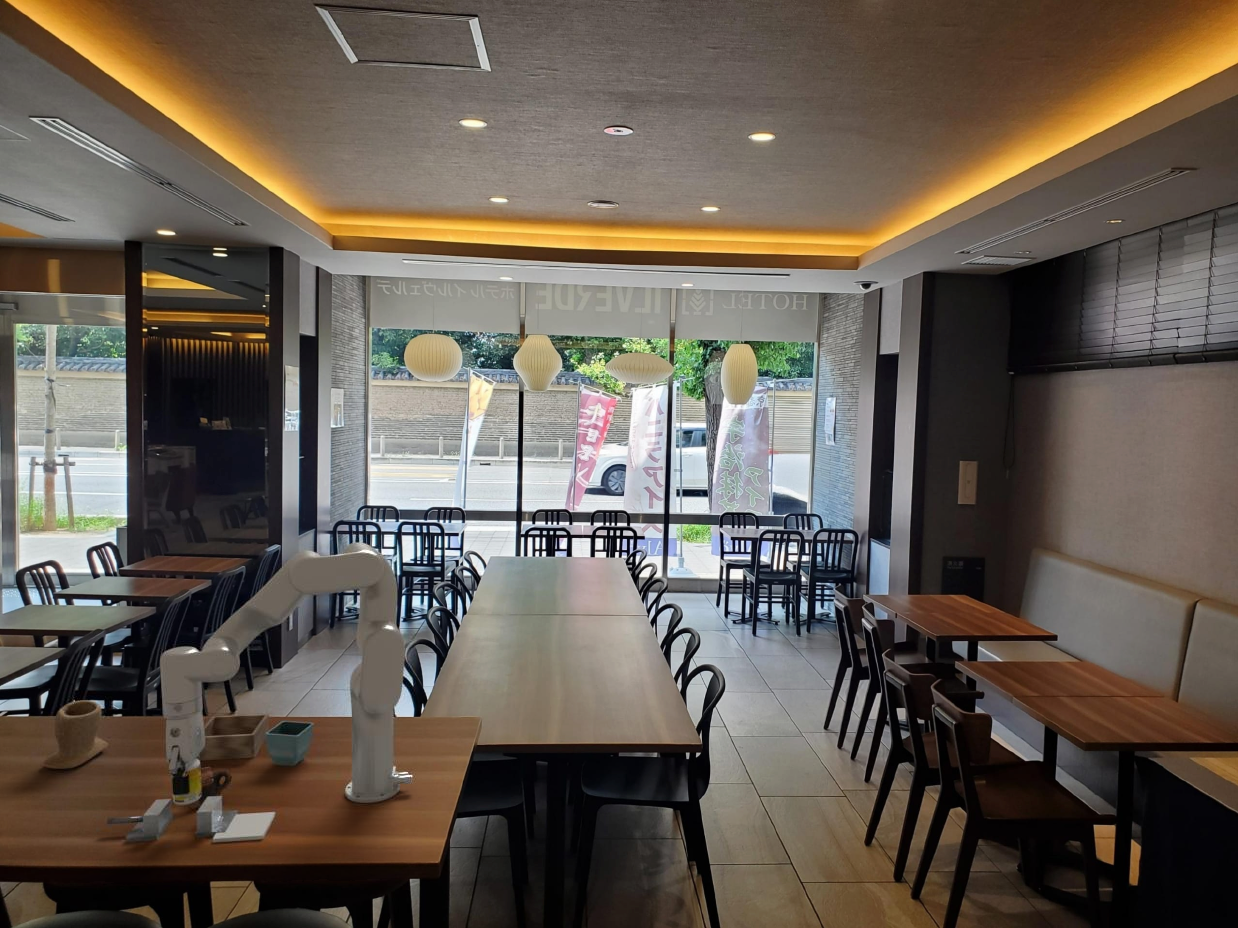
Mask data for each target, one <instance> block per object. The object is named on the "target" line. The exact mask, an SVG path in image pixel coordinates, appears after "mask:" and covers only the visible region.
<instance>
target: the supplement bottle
mask: <svg viewBox="0 0 1238 928" xmlns="http://www.w3.org/2000/svg"><path fill="white" fill-rule="evenodd" d="M179 761H183V759H179ZM179 761H178V762H179ZM178 767H179V768H181V769H182V770H183V765H178ZM201 768H202V767H201V760H198V759H196V758H195V759H194V760H193V761H192V762H191V763H188V768H187V775H189V785H190V792H189V793H188V794H183V795H173V789H172V788H171V789H172V791H171V793H172V795H171V796H172V802H173V804H175V805H177V806H178V805H179V806H185V805H190V803H193V802H195V801H197V800H198V799H199V798H200V797H201V795H202V790H201Z"/></svg>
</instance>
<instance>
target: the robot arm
mask: <svg viewBox="0 0 1238 928" xmlns="http://www.w3.org/2000/svg"><path fill="white" fill-rule="evenodd" d="M354 590H355V591H356V590H359V612H358V623H357V631H356V632H357V633H356V644H357V647H358V649H359V651H360V653H361V662H359V664H357V665H356V666H355V668H354V669H353V671H352V672H351V675H350V679H349V691H350V703H351V707H350V709H351V781H350V782H349V783H348V784H347V785H346V787H345V789H344V794H345V797H346V798H347V799H348V800H350V801H352V802H355V803H362V804H368V803H377V802H381V801H385V800H388V799H390V798H392V797H393V796H396V795H397V793H399V792H400V789H401V785H402V784H403V785H410V784H413V774H409V772H408V771H403V772H399V771H397V766H395V765H394V726H395V725H394V719H395V718H394V716H395V715H394V709H395V707H396V706H397V704H398V703H399V700H400V698H401V695H402V690H403V683H404V682H403V681H404V671H405V670H404V669H405V661H406V660H405V659H406V658H405V657H406V656H405V655H406V646H405V645H406V644H405V639H404V636H403V634H402V633H401V631H400V629H399V628H398V626H397V614H398V613H397V612H398V585H397V579H396V575H395V572H394V569H393V568H392V566H391V564H390V563H389V561H388V560H387V558H386V557H385V556H384V555H383V554H382V553H381V552H380V551H378V550H377V549H376V548H374V547H373V546H371V545H369V544H368V543H364V542H359V541H358V542H352V543H350V544H348V545H346V546H345V547H344V548H343V549H342V551H341V553H340V554H334V555H333V554H332V555H320V554H319V553H317V552H315V551H313V550H308V549H307V550H302V551H299V552H297V553H295V554H294V555H293V556H291V558H289V560H288V561H286V562H285V563H284V565H282V566H281V568H280V569H279V570H278V571H277V572H276V573H275V574H274V575H273V576H272V577H271V578H270V579H269V580H268V581H267V582H266V584H265V585H264V586H262V588H260V590H259V591H258V592H257V593H256V594H254V595H253V597H251V599H249V600H248V601H246V602H245V603H244V605H242V606H240V608H239V609H238V610H236V611H235V612H234V613H233V614H232V615H231V616H230V617H228V619H226V621H225V622H224V623H223V624H222V625H221V626H220V627H219V628H218V629H217V630H216V631H215V632H214V633H213V634H212V635H211V636H210V637H209V638H208V639H207V641H206V642H205V643H204V645H203V647H202V650H201V651H200V650H198V649H197V648H196V647H194V646H177V647H174V648H170V649H168V650H165V651H164V652H163V653H162V654H161V655H160V660H159V662H160V663H159V664H160V665H159V666H160V681H161V682H160V683H161V686H160V687H161V699H162V700H161V701H162V702H161V703H162V717H163V718H165V719H166V721H165V756H166V762H167V764H169V767H168V771H169V772H170V775H171V776H170V777H171V789H173V795H183V794H188V793H189V792H190V785H189V775H187V768H188V763H191V762H192V761H193V760H194V759H195V758H196V759H198V760H199V759H200V756H199V753H200V752H201V751H202V749H203V748H204V746H205V731H204V726H205V722H204V715H203V710H204V709H203V708H204V707H203V706H204V705H203V688H202V686H203V685H202V683H220V682H225V681H228V680H231V679H232V678H233V677H235V675H236V674H237V673H238V671H239V669H240V664H241V660H240V654H241V653H242V652H243V651H244V649H246V648H247V646H249V645H250V644H251V643H252V642H253V640H254V639H256V637H258V636H259V635H260V634H261V633H263V632H264V631H266V630H267V629H270V628H272V627H276V626H278V625H280V624H282V623H283V622H285V621H286V619H287V618H288V617H289V616H290V615H291V614H292V613H293V612H294V611H295V610H296V608H297V607H299V605H300V604H301V603H302V602H303V601H304V600H305V599H306V598H307V597H308V596H317V595H318V596H319V595H327V594H335V593H342V592H343V593H344V592H349V591H354ZM179 759H183V761H179ZM178 761H179V762H178ZM199 761H200V760H199ZM178 765H183V770H182V769H181V768H179V767H178ZM173 795H172V796H173Z"/></svg>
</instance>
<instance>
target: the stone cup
mask: <svg viewBox="0 0 1238 928" xmlns="http://www.w3.org/2000/svg"><path fill="white" fill-rule="evenodd" d="M101 721H102V707H101V705H100V704H99V703H98V702H96V701H93V700H88V699H84V700H83V699H82V700H81V699H80V700H76V701H72V702H69V703H67V704H65V705H64V706H62V707H61V708H59V710H58V711H57V713H56V716H55V718H54V728H53V729H54V735H55V739H56V741H57V743H58V744H57V745H58V750H57V751H56V752H54V753H52V754H51V755H49V756H47V757H46V758H45V759H44V760H43V761H42V766H43V767H45V768H48V769H55V770H64V769H72V768H76V767H77V766H80V765H82V764H84V763H86V762H87V761H89V760H90V759H92V758H93V757H95V756H97V754H100V752H102V751H104V750H105V749H106V748H108V746H109V744H108V742H106V741H104V739H102V738H99V737H98V736H97V733H98V729H99V727H100V725H101Z"/></svg>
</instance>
